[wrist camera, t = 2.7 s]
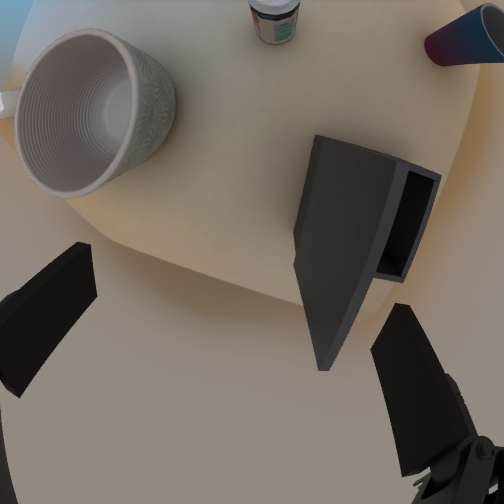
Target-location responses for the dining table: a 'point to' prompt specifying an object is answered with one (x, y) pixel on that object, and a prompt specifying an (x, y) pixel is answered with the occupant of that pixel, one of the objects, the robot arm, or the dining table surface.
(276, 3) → the beer can
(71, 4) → the dining table surface
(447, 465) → the robot arm
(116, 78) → the planter
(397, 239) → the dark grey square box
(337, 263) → the dark grey square slab
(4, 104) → the pepper shaker
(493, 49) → the cup
